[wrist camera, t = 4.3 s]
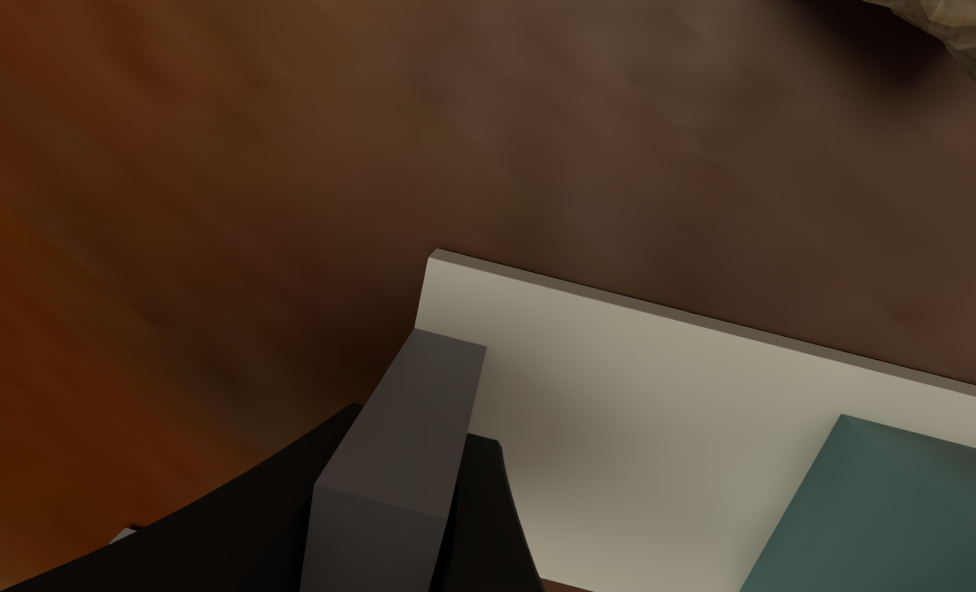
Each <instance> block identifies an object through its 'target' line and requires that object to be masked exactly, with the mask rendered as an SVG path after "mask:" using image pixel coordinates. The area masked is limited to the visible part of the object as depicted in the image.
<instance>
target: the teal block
mask: <svg viewBox="0 0 976 592" xmlns="http://www.w3.org/2000/svg"><path fill="white" fill-rule="evenodd" d="M739 592H976V448H974V447H970V446H966V445H962V444H958V443H954V442H950V441H946V440H943V439H939V438H935V437H931V436H927V435H923V434H919V433H915V432H911V431H907V430H904V429H900V428H896V427H892V426H888V425H884V424H880V423H876V422H872V421H868V420H865V419H861V418H857V417H853V416H849V415H845V414H841V415H840V416H839V418H838V420H837V422H836V423H835V425H834V427H833V429H832V430H831V432H830V434H829V436H828V437H827V439H826V441H825V443H824V444H823V446H822V448H821V450H820V451H819V453H818V455H817V457H816V458H815V460H814V462H813V464H812V465H811V467H810V469H809V470H808V472H807V474H806V476H805V477H804V479H803V481H802V483H801V484H800V486H799V488H798V490H797V491H796V493H795V495H794V497H793V498H792V500H791V502H790V504H789V505H788V507H787V509H786V511H785V512H784V514H783V516H782V518H781V519H780V521H779V523H778V525H777V526H776V528H775V530H774V532H773V533H772V535H771V537H770V538H769V540H768V542H767V544H766V545H765V547H764V549H763V551H762V552H761V554H760V556H759V558H758V559H757V561H756V563H755V565H754V566H753V568H752V570H751V572H750V573H749V575H748V577H747V579H746V580H745V582H744V584H743V586H742V587H741V589H740V591H739Z"/></svg>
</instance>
